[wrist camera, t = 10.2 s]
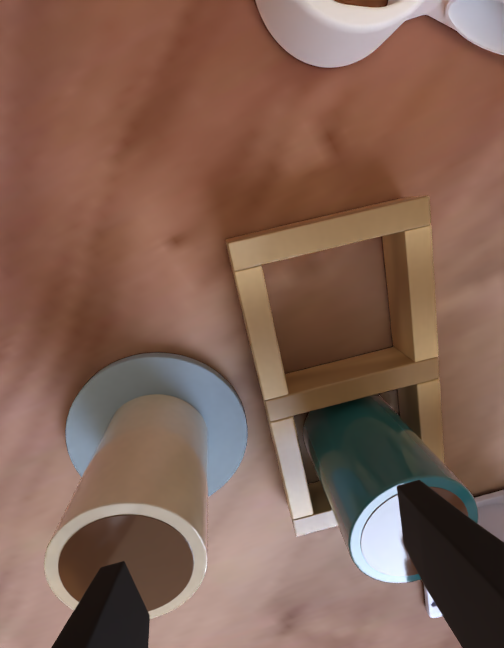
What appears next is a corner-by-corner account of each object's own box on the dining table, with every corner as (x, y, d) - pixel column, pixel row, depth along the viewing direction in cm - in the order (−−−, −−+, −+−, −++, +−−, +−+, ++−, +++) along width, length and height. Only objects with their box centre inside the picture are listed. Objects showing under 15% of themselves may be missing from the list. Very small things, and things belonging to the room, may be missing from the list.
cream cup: (219, 466, 19) (223, 600, 13) (124, 491, 19) (78, 640, 12) (194, 382, 18) (183, 485, 11) (90, 408, 17) (15, 529, 11)
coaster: (262, 478, 20) (263, 486, 20) (105, 520, 20) (102, 529, 20) (224, 332, 18) (224, 336, 17) (40, 377, 17) (34, 383, 17)
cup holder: (424, 469, 22) (447, 496, 20) (287, 505, 21) (296, 537, 19) (402, 197, 17) (430, 195, 15) (224, 239, 16) (226, 242, 14)
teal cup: (395, 453, 21) (481, 564, 14) (310, 476, 21) (357, 599, 14) (386, 376, 19) (479, 461, 13) (295, 399, 19) (340, 498, 13)
